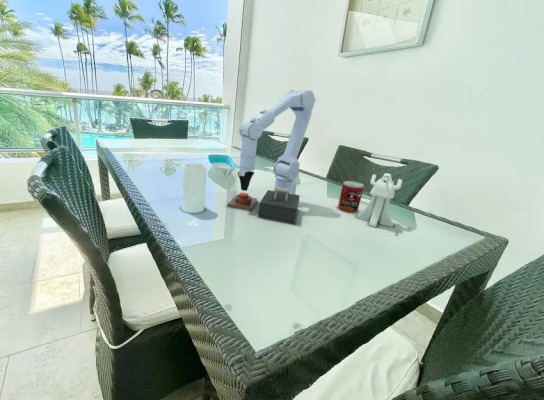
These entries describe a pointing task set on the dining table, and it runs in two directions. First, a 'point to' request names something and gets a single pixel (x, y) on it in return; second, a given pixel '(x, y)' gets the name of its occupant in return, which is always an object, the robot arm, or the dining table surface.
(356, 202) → the canned food
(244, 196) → the button
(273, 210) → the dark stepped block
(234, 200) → the control block
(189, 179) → the cup
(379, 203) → the white mech figurine
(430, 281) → the dining table surface
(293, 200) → the lid
